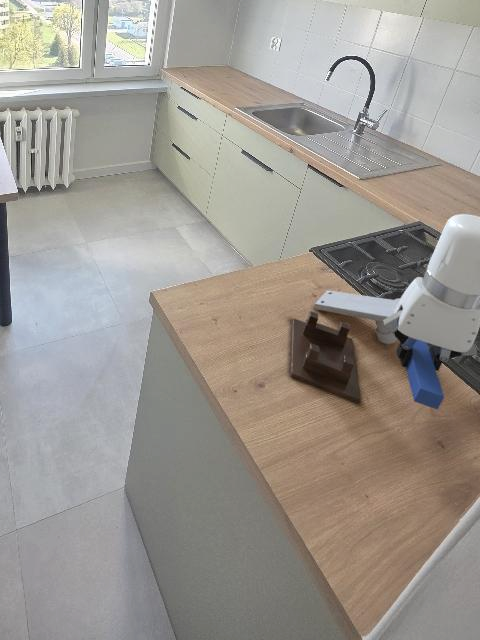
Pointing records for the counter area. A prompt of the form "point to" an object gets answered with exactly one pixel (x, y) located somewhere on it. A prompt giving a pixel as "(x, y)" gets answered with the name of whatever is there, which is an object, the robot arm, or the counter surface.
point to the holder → (324, 357)
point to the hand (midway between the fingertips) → (415, 364)
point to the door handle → (361, 309)
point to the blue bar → (424, 377)
